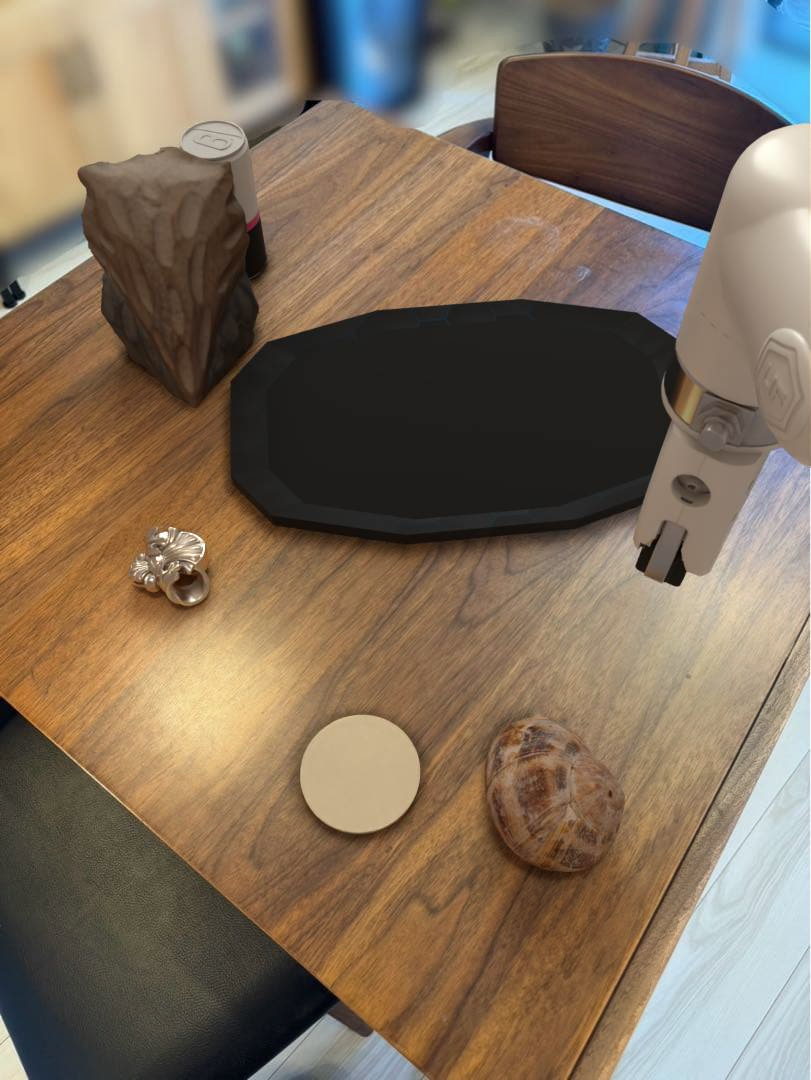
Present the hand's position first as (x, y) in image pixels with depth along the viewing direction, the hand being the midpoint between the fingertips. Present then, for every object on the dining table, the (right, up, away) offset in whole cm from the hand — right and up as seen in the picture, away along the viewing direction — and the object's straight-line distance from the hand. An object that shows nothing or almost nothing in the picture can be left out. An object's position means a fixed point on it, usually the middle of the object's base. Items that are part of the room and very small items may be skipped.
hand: (660, 569), depth 61 cm
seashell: (-7, -17, +5) cm, 19 cm away
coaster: (-21, -15, +6) cm, 27 cm away
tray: (-11, +14, +25) cm, 31 cm away
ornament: (-37, -1, +16) cm, 41 cm away
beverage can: (-36, +32, +37) cm, 61 cm away
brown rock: (-39, +20, +29) cm, 53 cm away
